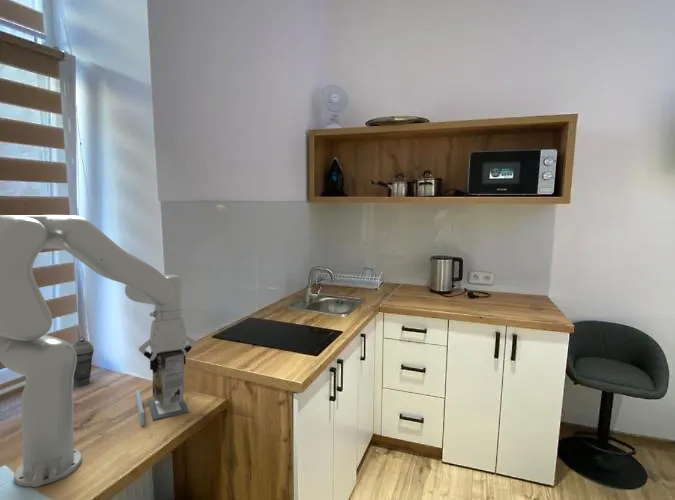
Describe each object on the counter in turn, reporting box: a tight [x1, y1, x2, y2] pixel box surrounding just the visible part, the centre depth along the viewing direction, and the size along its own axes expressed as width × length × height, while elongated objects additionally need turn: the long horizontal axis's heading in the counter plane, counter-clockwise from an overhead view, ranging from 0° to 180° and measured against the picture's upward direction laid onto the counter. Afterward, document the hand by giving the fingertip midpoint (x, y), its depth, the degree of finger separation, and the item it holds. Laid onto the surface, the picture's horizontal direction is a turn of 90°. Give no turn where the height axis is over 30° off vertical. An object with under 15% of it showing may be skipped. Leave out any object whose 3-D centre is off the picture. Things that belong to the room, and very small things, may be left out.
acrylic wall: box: [135, 389, 145, 427], centre depth 114 cm, size 16×1×4 cm, turn 33°
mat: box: [147, 398, 189, 421], centre depth 119 cm, size 13×10×1 cm
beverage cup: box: [71, 328, 95, 387], centre depth 132 cm, size 7×7×20 cm
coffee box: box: [152, 350, 185, 407], centre depth 118 cm, size 9×6×16 cm
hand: (168, 368), depth 118 cm, fingers closed on coffee box, 7 cm apart
